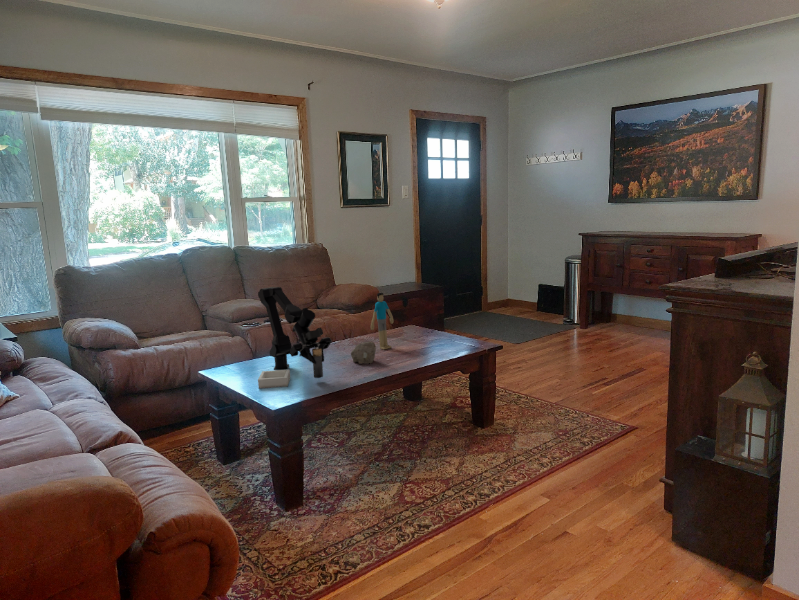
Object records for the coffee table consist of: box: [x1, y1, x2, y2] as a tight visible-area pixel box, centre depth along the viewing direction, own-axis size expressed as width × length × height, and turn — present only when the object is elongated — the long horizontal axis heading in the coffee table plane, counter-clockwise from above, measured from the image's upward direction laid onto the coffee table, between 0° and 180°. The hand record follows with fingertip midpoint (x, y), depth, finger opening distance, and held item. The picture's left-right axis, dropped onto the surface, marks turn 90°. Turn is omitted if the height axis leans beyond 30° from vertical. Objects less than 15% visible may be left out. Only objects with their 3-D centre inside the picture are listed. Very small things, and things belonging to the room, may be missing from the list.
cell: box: [311, 347, 324, 379], centre depth 233 cm, size 4×4×13 cm
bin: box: [257, 369, 291, 389], centre depth 235 cm, size 12×12×4 cm
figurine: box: [370, 292, 394, 350], centre depth 284 cm, size 16×6×30 cm, turn 135°
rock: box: [350, 341, 377, 365], centre depth 261 cm, size 14×10×8 cm
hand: (319, 362), depth 232 cm, fingers closed on cell, 4 cm apart
